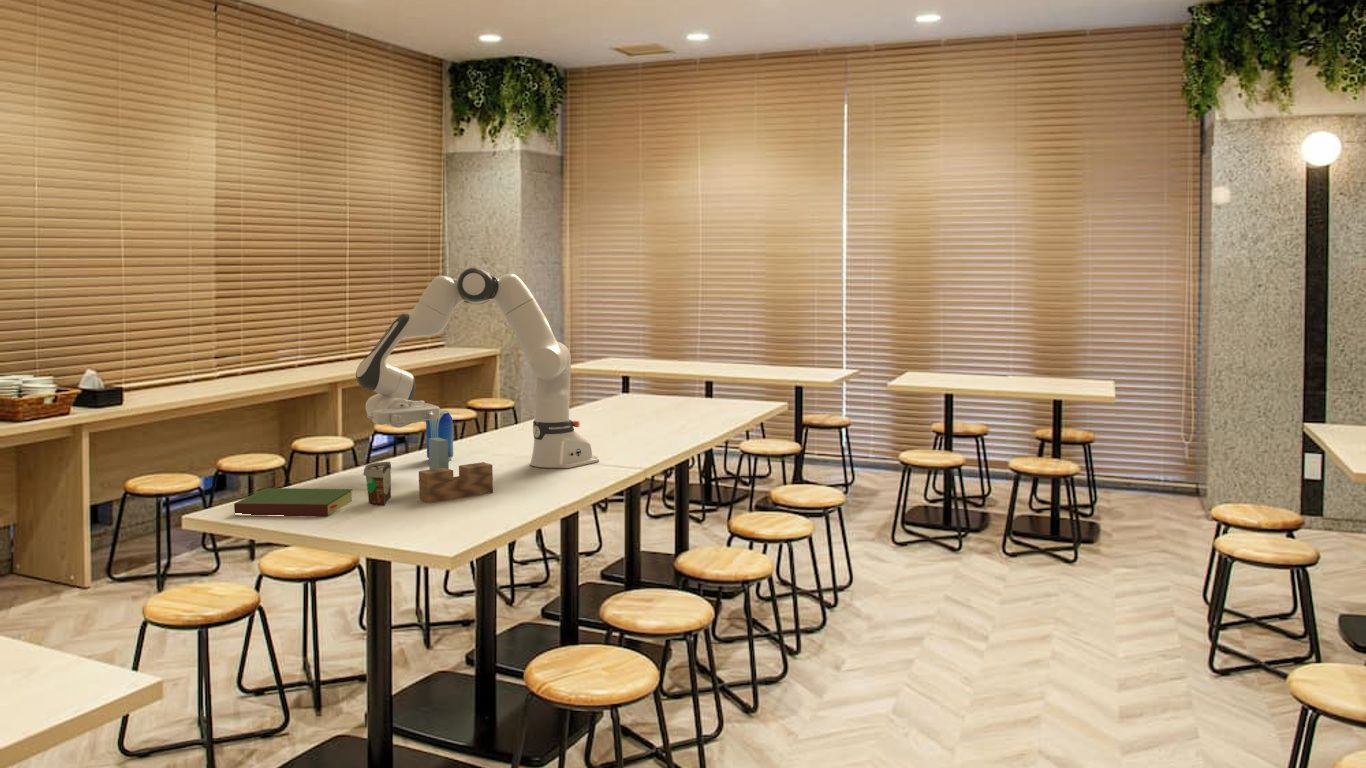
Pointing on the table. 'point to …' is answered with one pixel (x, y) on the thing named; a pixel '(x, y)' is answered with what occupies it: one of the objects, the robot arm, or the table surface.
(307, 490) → the hardcover book
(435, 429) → the beer can
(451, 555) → the table surface
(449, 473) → the notched wooden block
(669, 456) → the table surface
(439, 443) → the sage green pillar
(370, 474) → the food container
